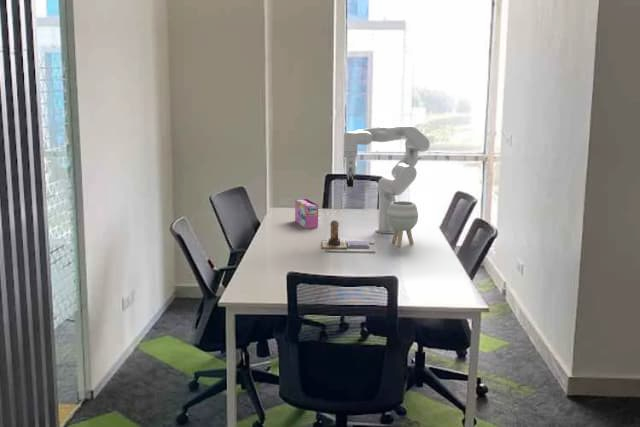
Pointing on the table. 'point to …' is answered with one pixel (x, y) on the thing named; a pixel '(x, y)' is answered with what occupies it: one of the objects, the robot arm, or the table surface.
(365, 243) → the ink pad
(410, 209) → the planter
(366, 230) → the table surface
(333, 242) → the stamp
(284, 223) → the table surface
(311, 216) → the gum box
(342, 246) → the marked board
